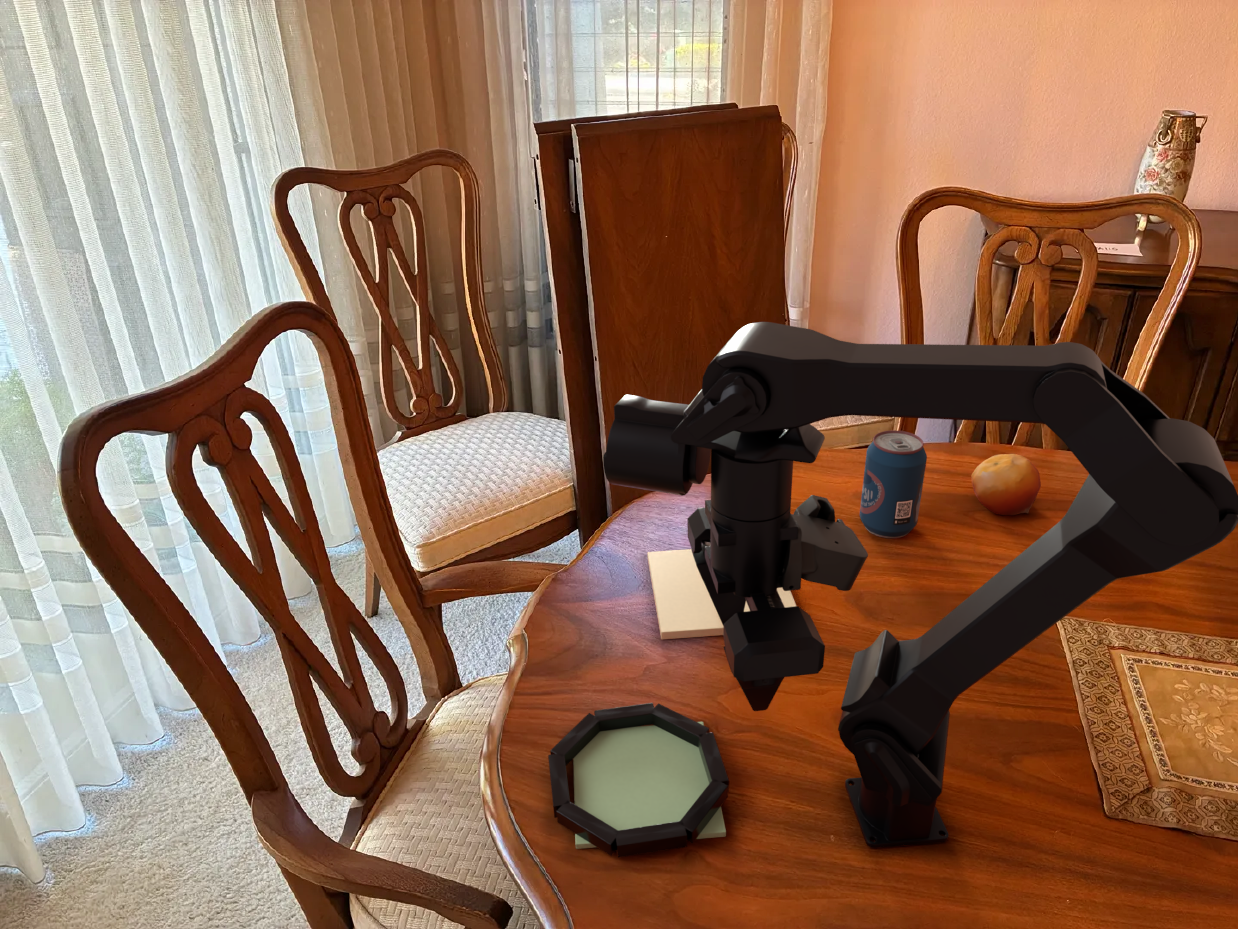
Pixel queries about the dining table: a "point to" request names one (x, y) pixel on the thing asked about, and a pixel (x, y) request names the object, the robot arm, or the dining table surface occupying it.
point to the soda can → (893, 483)
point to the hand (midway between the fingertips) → (745, 668)
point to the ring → (646, 836)
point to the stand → (686, 596)
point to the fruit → (1006, 484)
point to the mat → (640, 780)
